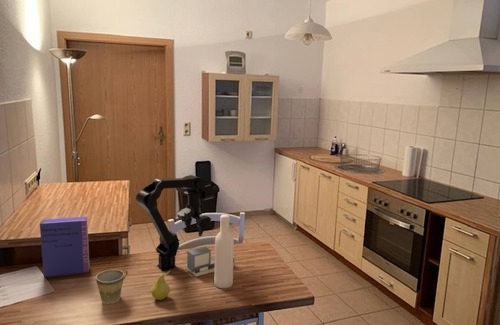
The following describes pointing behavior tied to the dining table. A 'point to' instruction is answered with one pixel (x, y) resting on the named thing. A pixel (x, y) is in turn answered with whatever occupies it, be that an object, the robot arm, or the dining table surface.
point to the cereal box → (64, 246)
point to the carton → (198, 258)
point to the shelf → (205, 267)
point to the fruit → (160, 288)
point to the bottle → (224, 255)
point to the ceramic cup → (110, 285)
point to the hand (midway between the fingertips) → (194, 233)
